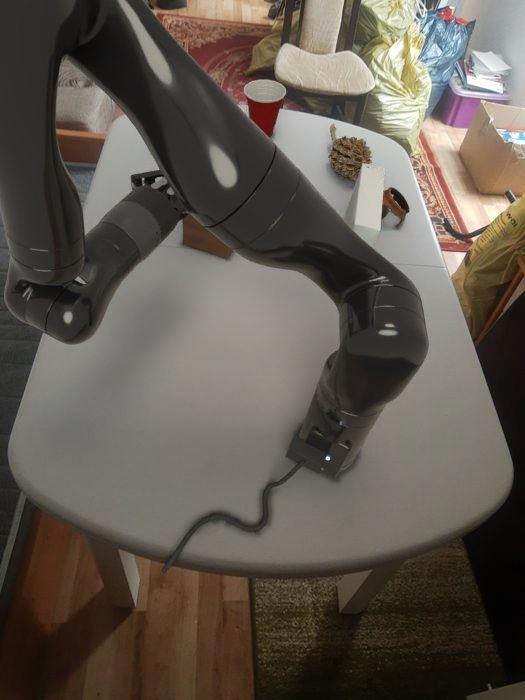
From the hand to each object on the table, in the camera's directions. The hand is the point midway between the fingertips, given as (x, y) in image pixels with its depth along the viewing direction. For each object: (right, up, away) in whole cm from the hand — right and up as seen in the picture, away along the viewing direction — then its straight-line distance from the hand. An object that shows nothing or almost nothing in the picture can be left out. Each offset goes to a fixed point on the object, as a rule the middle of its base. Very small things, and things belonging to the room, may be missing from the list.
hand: (197, 168), depth 75 cm
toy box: (0, -4, +27) cm, 28 cm away
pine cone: (+30, +19, +49) cm, 61 cm away
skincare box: (+29, -9, +28) cm, 41 cm away
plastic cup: (+10, +30, +55) cm, 64 cm away
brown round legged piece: (+38, +2, +37) cm, 53 cm away
